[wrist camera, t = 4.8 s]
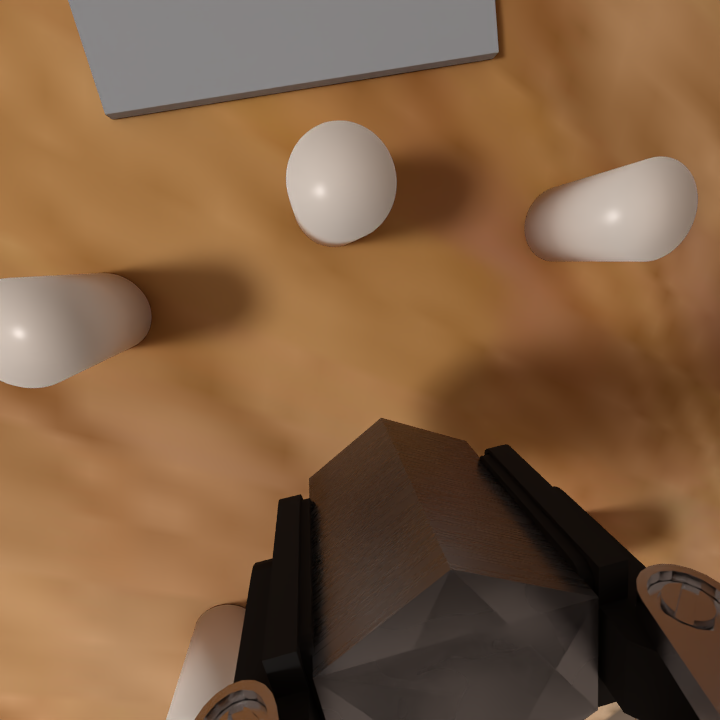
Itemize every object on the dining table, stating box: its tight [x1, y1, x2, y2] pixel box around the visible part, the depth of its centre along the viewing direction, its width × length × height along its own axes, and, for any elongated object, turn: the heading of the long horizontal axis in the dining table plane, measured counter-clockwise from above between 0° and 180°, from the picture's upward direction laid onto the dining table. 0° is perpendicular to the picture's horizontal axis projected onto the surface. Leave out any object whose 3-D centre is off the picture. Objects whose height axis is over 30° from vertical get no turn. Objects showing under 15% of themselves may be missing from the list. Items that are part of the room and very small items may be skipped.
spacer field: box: [0, 121, 698, 720], centre depth 13 cm, size 21×19×4 cm
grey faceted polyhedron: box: [309, 418, 599, 720], centre depth 8 cm, size 5×4×5 cm
